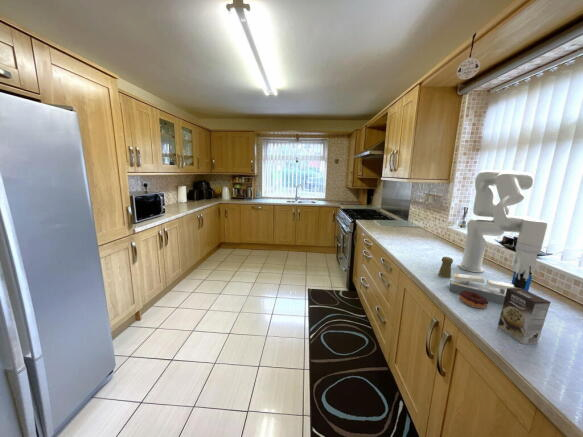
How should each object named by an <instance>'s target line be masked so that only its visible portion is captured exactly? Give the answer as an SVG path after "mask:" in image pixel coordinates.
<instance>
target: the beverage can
mask: <svg viewBox="0 0 583 437" xmlns="http://www.w3.org/2000/svg"><path fill="white" fill-rule="evenodd" d="M533 275H534V274H533ZM533 275H532V276H529V278H528V279H527V281H526V285H525V289H524V290H526V291H528V292H530V291H529V290H530V287H531V283H532V279H533ZM515 276H516V272H515V271H514V270H513V275H512V279H511V283H510V284H514V280H515ZM516 278H517V277H516Z"/></svg>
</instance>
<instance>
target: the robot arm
mask: <svg viewBox="0 0 583 437" xmlns="http://www.w3.org/2000/svg"><path fill="white" fill-rule="evenodd" d="M534 183H535V180H534V177H533V175H532V174H531V173H529V172H523V171H516V170H497V169H496V170H495V169H494V170H493V169H491V170H490V169H489V170H487V169H486V170H482V171H480V172H478V173H477V175H476V176H475V180H474V188H475V197H474V202H473V207H472V208H473V209H472V210H473V211H472V212H473V215H475V216H477V217H481V218H471V219H470V220H468V222H467V224H466V229H467V230H466V232H467V234H466V240H465V244H464V249H463V250H464V251H463V256H462V260H461V262H458V264H457V266H458V267H459V268H460V269H463V270H465V271H468V272H471V273H479V274H480V273H484V272H485V269H484V268H483V267H482V265H483V260H484V255H485V251H486V246H487V241H486V239H485V237H484V236H493V237H500V236H502V235H503V234H504V233H505V232H509V233H518V236H517V240H516V245H515V253H514V257H513V260H512V264H511V269H513V272H514V271H515V272H516V276H515V280H514V286H515V287H516V288H522V289H525V285H526V281H527V279H528V278H529V276H532V275H534V274H535V270H536V264H537V259H538V255H540V254H541V253H542V248H543V244H544V239H545V236H546V232H547V228H548V223H547V222H546V221H545V220H540V219H536V218H534V217H531V216H521V215H520V216H519V215H509V210H510V209H509V208H510V206H513V205H517V204H519V203H521V202H522V201H523V200H524V199H525V194H524V191H525V190H529V189H531V188H532V187H533V186H534ZM492 186H493V187H495V188H496V191H497V194H498V198H499V201H498V200H497V201H496V200H495V195H496V192H495V190H494V188H493V187H492ZM482 217H483V218H482ZM488 218H492V219H488ZM516 277H517V278H516ZM532 277H533V276H532Z"/></svg>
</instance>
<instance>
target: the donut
mask: <svg viewBox="0 0 583 437" xmlns="http://www.w3.org/2000/svg"><path fill="white" fill-rule="evenodd" d="M459 299H460V300H461V301H462V302H463V303H464V304H466V305H467V306H470V307H471V308H476V309H486V308H487V307H488V305H489V301H487V300H486V299H485V298H484V297H483V296H481V295H479V294H477V293H474V292H469V291H463V292H461V294H459Z"/></svg>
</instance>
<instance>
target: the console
mask: <svg viewBox="0 0 583 437" xmlns="http://www.w3.org/2000/svg"><path fill="white" fill-rule="evenodd" d="M449 291H450V292H452V293H456V294H459V295H460V294H461V292H463V291H469V292H474V293H477V294H479V295H481V296H483V297H484V298H485V299H486V300H487V301H488V302H491V303H496V304H499V305H502V306H503V303H504V299H505V295H506V291H507V290H504V289H499V288H494V287H489V286H488V285H485V284H480V283H477V282H469V281H460V280H455V278H453V277H451V278H450V281H449Z"/></svg>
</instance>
